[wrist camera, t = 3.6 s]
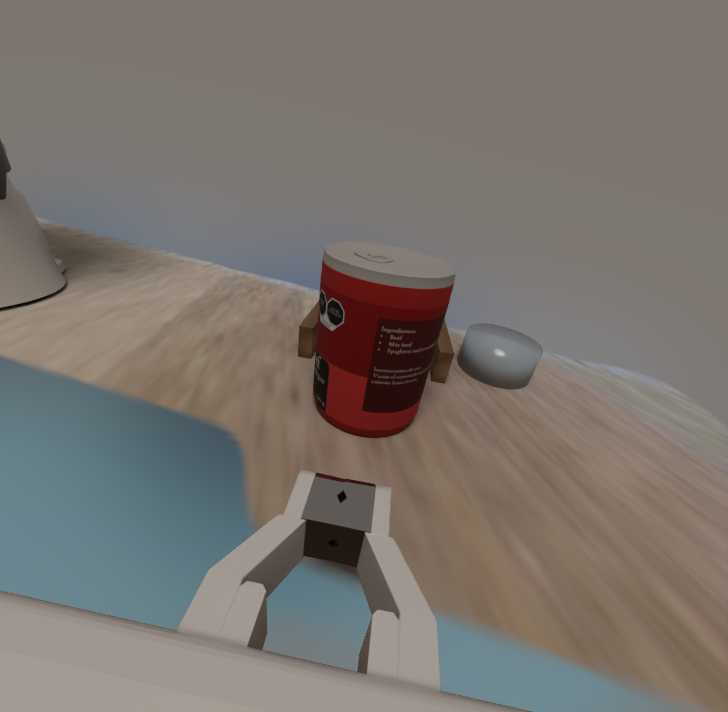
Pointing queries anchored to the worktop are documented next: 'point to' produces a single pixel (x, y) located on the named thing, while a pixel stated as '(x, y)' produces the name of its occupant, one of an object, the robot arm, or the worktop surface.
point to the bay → (438, 364)
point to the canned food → (377, 334)
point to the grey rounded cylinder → (499, 356)
